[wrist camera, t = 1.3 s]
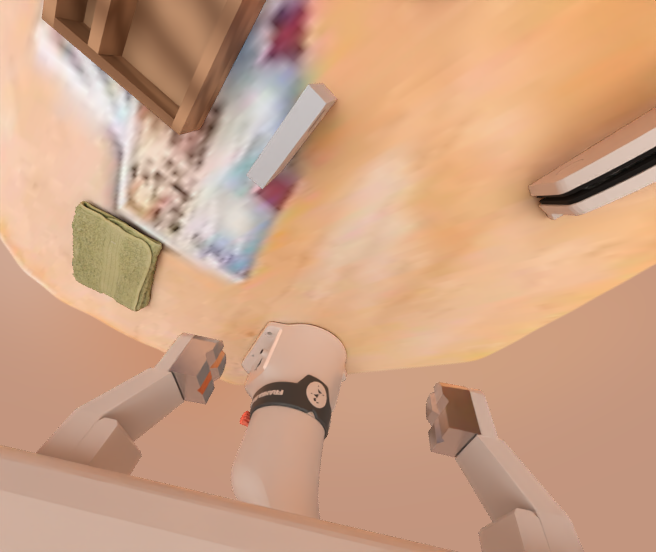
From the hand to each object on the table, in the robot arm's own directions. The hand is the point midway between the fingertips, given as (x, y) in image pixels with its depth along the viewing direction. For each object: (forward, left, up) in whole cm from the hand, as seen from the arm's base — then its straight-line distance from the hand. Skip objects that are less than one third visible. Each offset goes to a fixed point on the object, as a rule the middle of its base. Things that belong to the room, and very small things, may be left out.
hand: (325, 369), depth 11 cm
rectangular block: (-2, +8, -27) cm, 29 cm away
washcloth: (-38, +19, -28) cm, 51 cm away
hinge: (+19, -16, -28) cm, 37 cm away
